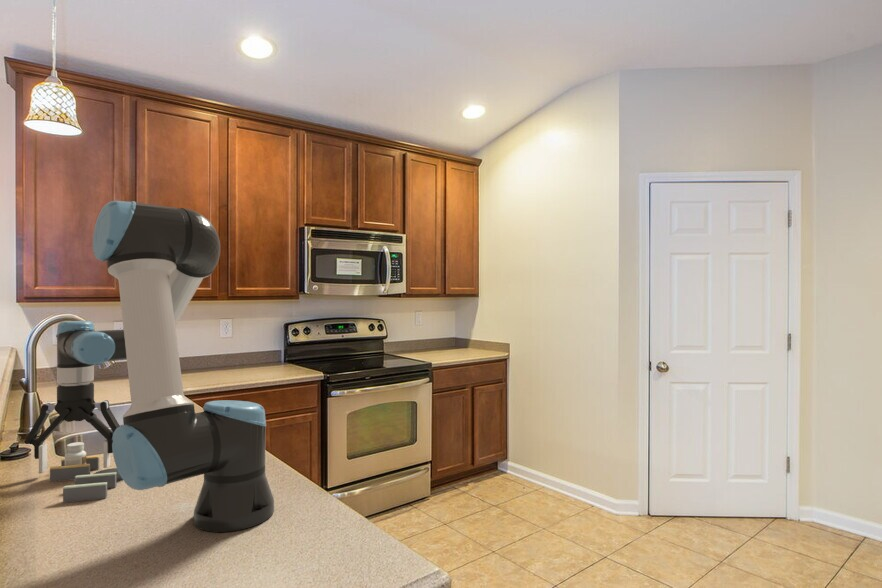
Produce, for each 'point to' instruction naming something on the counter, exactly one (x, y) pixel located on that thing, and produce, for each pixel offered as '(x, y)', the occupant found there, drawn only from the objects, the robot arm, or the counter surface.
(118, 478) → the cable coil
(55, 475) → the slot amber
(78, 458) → the pill bottle
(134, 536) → the counter surface
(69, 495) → the slot sage
